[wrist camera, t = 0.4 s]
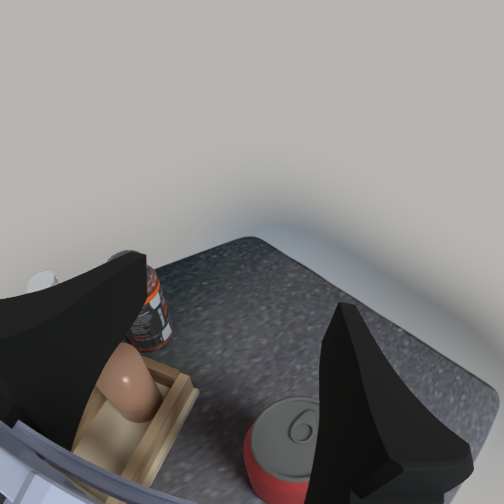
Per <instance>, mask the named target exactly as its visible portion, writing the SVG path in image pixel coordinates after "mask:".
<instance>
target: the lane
mask: <svg viewBox="0 0 504 504" xmlns="http://www.w3.org/2000/svg"><path fill="white" fill-rule="evenodd" d="M140 356H141V357H142V359H143V361H144V363H145V365H146V367H147V368H148V370H149V372H150V374H151V376H152V377H153V379H154V381H155V383H156V384H157V386H158V388H159V390H160V391H161V393H162V396H163V403H162V405H161V407H160V408H159V410H158V412H157V413H156V415H155V417H154V418H153V419H152V420H150V421H147V422H144V423H134V422H130V421H128V420H127V419H125V418H124V417H123V416H122V415H121V414H120V413H119V412H118V411H117V409H116V408H115V407H114V406H113V405H112V404H111V403H110V402H109V400H108V399H107V398H106V397H105V396H104V395H103V393H102V392H101V391H100V390H99V389H98V387H97V386H96V385H95V387H94V389H93V391H92V394H91V396H90V398H89V400H88V403H87V405H86V408H85V410H84V413H83V416H82V418H81V421H80V424H79V427H78V430H77V433H76V436H75V439H74V442H73V446H72V450H71V452H72V453H73V454H75V455H77V456H79V457H81V458H83V459H85V460H87V461H89V462H91V463H93V464H95V465H97V466H99V467H101V468H103V469H105V470H107V471H110V472H112V473H114V474H116V475H119V476H121V477H123V478H126V479H128V480H131V481H133V482H136V483H138V484H141V485H143V486H146V487H149V488H150V486H151V484H152V482H153V480H154V479H155V477H156V475H157V473H158V471H159V469H160V467H161V466H162V464H163V462H164V460H165V458H166V456H167V454H168V453H169V451H170V449H171V447H172V445H173V443H174V441H175V439H176V437H177V436H178V434H179V432H180V430H181V428H182V426H183V424H184V422H185V420H186V418H187V417H188V415H189V413H190V411H191V409H192V407H193V405H194V403H195V401H196V399H197V397H198V396H199V394H200V392H199V390H198V389H196V388H194V387H193V384H192V382H191V379H190V377H189V376H188V375H186V374H183V373H180V371H179V370H178V369H175V368H173V367H170V366H167V365H165V364H162V363H159V362H157V361H154V360H152V359H149V358H147V357H144V356H142V355H140ZM43 461H44V460H43ZM44 462H46V461H44ZM46 463H47V462H46ZM47 464H49V463H47ZM49 465H50V466H51V467H53V468H55V469H56V470H58V471H60V472H62V471H61V470H59V469H57V468H56V467H54V466H52V465H51V464H49ZM62 473H63V474H65V475H66V476H67V477H69V478H70V479H71V480H73V481H74V482H75V483H77V484H78V485H79V486H81V487H82V488H84V489H85V490H86V491H88V492H89V493H91V494H92V495H94V496H95V497H97V498H98V499H100V500H101V501H103V502H105V504H127V503H125V502H122V501H120V500H118V499H116V498H113V497H111V496H109V495H107V494H105V493H102V492H100V491H98V490H96V489H94V488H92V487H90V486H88V485H86V484H84V483H82V482H80V481H79V480H77V479H75V478H73V477H71V476H69V475H68V474H66V473H64V472H62Z"/></svg>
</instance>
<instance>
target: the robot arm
mask: <svg viewBox="0 0 504 504" xmlns="http://www.w3.org/2000/svg"><path fill="white" fill-rule="evenodd" d="M147 298H148V295H147V266H146V255H145V254H141V253H138V252H134V251H131V252H129V253H126V254H124V255H122V256H119V257H117V258H115V259H113V260H111V261H109V262H107V263H105V264H103V265H101V266H98V267H96V268H94V269H92V270H90V271H88V272H86V273H83V274H81V275H79V276H76V277H74V278H72V279H70V280H67V281H65V282H63V283H60V284H57V285H54V286H51V287H48V288H45V289H42V290H39V291H36V292H32V293H28V294H24V295H20V296H16V297H11V298H6V299H0V492H1V493H2V494H3V495H4V496H6V499H5V501H4V503H3V504H102V503H100V502H98V501H96V500H94V499H92V498H90V497H88V496H86V494H85V493H84V492H82V491H81V490H79V489H78V488H77V487H75V486H74V485H73V484H72V483H71V482H70V481H69V480H68V479H67V478H66V476H65V475H63V474H62V473H60V472H59V471H57V470H56V469H54V468H53V467H51V466H50V465H49V464H51V465H52V466H54V467H56V468H57V469H59V470H61V471H62V472H64V473H66V474H68V475H69V476H71V477H73V478H75V479H77V480H79V481H80V482H82V483H84V484H86V485H88V486H90V487H92V488H94V489H96V490H98V491H100V492H102V493H105V494H107V495H109V496H111V497H113V498H116V499H118V500H120V501H122V502H125V503H127V504H198V503H195V502H191V501H188V500H184V499H181V498H178V497H175V496H171V495H168V494H165V493H162V492H160V491H157V490H154V489H151V488H149V487H146V486H143V485H141V484H138V483H136V482H133V481H131V480H128V479H126V478H123V477H121V476H119V475H116V474H114V473H112V472H110V471H107V470H105V469H103V468H101V467H99V466H97V465H95V464H93V463H91V462H89V461H87V460H85V459H83V458H81V457H79V456H77V455H75V454H73V453H72V452H71V450H72V446H73V442H74V439H75V436H76V433H77V430H78V427H79V424H80V421H81V418H82V416H83V413H84V410H85V408H86V405H87V403H88V400H89V398H90V396H91V394H92V391H93V389H94V387H95V385H96V383H97V381H98V379H99V377H100V375H101V373H102V371H103V369H104V367H105V365H106V363H107V362H108V360H109V358H110V357H111V356H112V354H113V353H114V351H115V350H116V348H117V347H118V345H119V344H120V342H121V341H122V339H123V338H124V337H125V335H126V334H127V332H128V331H129V329H130V328H131V326H132V325H133V323H134V322H135V320H136V319H137V317H138V315H139V314H140V312H141V310H142V308H143V306H144V304H145V302H146V300H147ZM43 460H44V461H46V462H47V463H49V464H47V463H46V462H44V461H43ZM473 470H474V467H473V460H472V455H471V450H470V446H469V444H468V443H467V442H466V441H464V440H463V439H462V438H460V437H459V436H458V435H456V434H455V433H454V432H452V431H451V430H450V429H448V428H447V427H446V426H445V425H444V424H443V423H441V422H440V421H439V420H438V419H437V418H436V417H435V416H434V415H433V414H432V413H431V412H430V411H429V410H428V409H427V408H426V407H425V406H424V405H423V404H422V403H421V402H420V401H419V400H418V399H417V398H416V397H415V396H414V394H413V393H412V392H411V391H410V390H409V389H408V387H407V386H406V385H405V384H404V382H403V381H402V380H401V379H400V377H399V376H398V375H397V373H396V372H395V371H394V369H393V368H392V366H391V365H390V363H389V362H388V360H387V359H386V357H385V356H384V354H383V353H382V351H381V349H380V348H379V346H378V345H377V343H376V341H375V340H374V338H373V336H372V334H371V333H370V331H369V329H368V327H367V326H366V324H365V322H364V320H363V318H362V317H361V315H360V313H359V311H358V309H357V308H356V306H355V305H353V304H348V303H343V302H339V303H338V305H337V308H336V310H335V312H334V315H333V317H332V320H331V322H330V324H329V327H328V329H327V331H326V334H325V336H324V338H323V340H322V346H321V354H320V364H319V427H318V434H317V441H316V448H315V454H314V460H313V465H312V470H311V475H310V480H309V484H308V489H307V493H306V497H305V501H304V504H443V503H444V495H443V494H444V493H446V492H448V491H449V490H451V489H453V488H454V487H456V486H457V485H459V484H461V483H462V482H463V481H465V480H466V479H467V478H468V477H469V476H470V475H471V474H472V472H473Z"/></svg>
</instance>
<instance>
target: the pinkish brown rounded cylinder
mask: <svg viewBox="0 0 504 504" xmlns="http://www.w3.org/2000/svg"><path fill="white" fill-rule="evenodd" d="M96 386H97V387H98V389H99V390H100V391H101V392H102V393H103V395H104V396H105V397H106V398H107V399H108V400H109V402H110V403H111V404H112V405H113V406H114V407H115V408H116V409H117V411H118V412H119V413H120V414H121V415H122V416H123V417H124V418H125V419H127V420H128V421H130V422H134V423H144V422H147V421H150V420H152V419H153V418H154V417H155V415H156V413H157V412H158V410H159V408H160V407H161V405H162V403H163V396H162V393H161V391H160V390H159V388H158V386H157V384H156V383H155V381H154V379H153V377H152V376H151V374H150V372H149V370H148V368H147V367H146V365H145V363H144V361H143V359H142V357H141V356H140V354H139V352H138V351H137V349H136V348H135V347H133V346H132V345H130V344H127V343H122V342H120V344H119V345H118V347H117V348H116V350H115V351H114V353H113V354H112V356H111V357H110V358H109V360H108V362H107V363H106V365H105V367H104V369H103V371H102V373H101V375H100V377H99V379H98V381H97V383H96Z"/></svg>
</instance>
